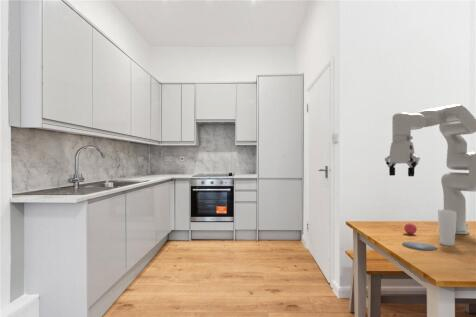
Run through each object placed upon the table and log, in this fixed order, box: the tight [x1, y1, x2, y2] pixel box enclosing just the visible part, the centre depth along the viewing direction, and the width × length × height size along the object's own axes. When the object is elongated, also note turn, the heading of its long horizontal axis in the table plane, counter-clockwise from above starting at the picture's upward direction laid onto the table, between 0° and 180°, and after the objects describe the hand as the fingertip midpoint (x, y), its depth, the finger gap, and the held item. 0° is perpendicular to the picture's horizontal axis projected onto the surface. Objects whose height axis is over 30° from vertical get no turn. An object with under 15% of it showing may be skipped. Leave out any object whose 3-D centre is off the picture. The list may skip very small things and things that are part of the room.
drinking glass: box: [437, 209, 457, 247], centre depth 132 cm, size 7×7×15 cm
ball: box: [403, 222, 418, 235], centre depth 152 cm, size 6×6×6 cm
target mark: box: [401, 241, 438, 252], centre depth 129 cm, size 13×13×1 cm
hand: (401, 175), depth 140 cm, fingers open, 9 cm apart
